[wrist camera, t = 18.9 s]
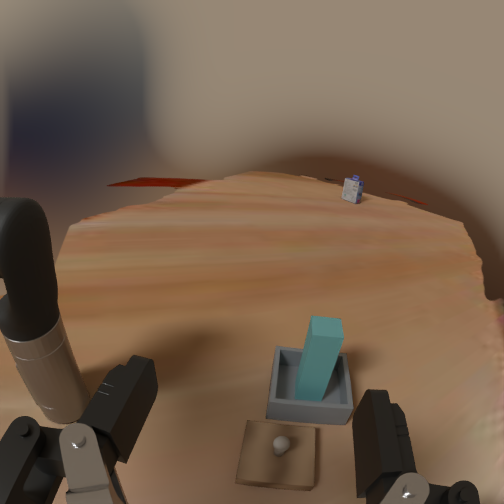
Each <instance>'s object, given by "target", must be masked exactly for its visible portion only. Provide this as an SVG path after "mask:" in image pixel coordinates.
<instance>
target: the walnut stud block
mask: <svg viewBox="0 0 504 504" xmlns="http://www.w3.org/2000/svg"><path fill="white" fill-rule="evenodd" d="M314 470H315V428H313V427H301V426H290V425H281V424H272V423H264V422H257V421H250V420H247V424H246V429H245V434H244V439H243V444H242V450H241V455H240V460H239V465H238V470H237V475H236V481H235V483H237V484H244V485H251V486H258V487H267V488H276V489H288V490H303V491H311V489H312V488H313V486H314Z"/></svg>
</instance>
